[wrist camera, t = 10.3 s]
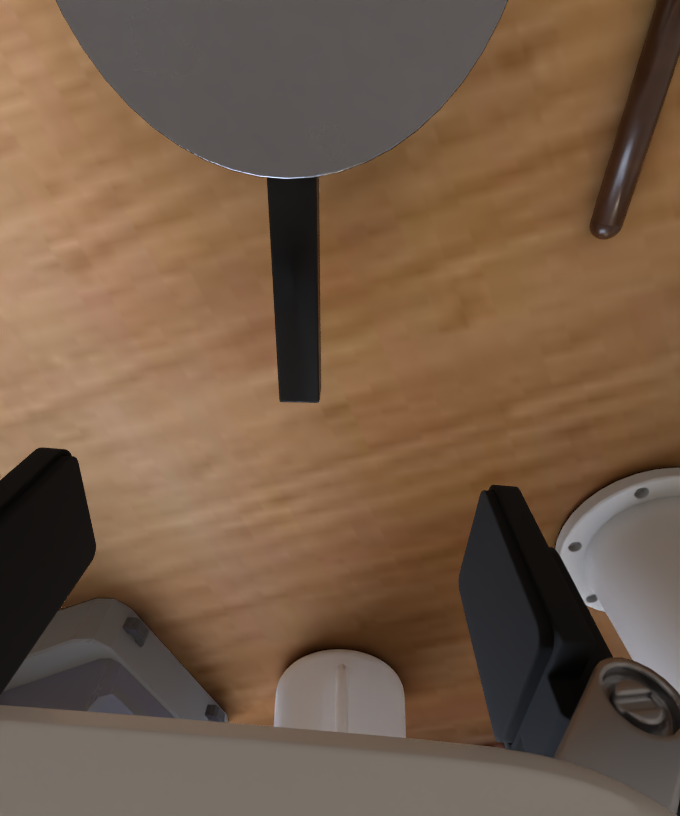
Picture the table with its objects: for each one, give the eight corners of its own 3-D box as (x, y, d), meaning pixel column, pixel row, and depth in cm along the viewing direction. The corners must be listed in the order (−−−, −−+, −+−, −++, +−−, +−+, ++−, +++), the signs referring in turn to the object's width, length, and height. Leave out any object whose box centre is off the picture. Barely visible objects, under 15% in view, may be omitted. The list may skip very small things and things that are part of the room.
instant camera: (-76, 627, 38) (-300, 873, 25) (158, 587, 36) (45, 839, 22) (56, 762, 48) (-56, 993, 35) (248, 739, 45) (206, 979, 32)
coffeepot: (417, 578, 35) (481, 959, 18) (391, 759, 46) (416, 1092, 30) (271, 574, 35) (202, 950, 18) (282, 755, 46) (245, 1086, 30)
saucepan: (498, -278, 16) (647, -714, 8) (431, 354, 27) (466, 436, 19) (95, -278, 16) (-154, -708, 8) (188, 350, 27) (120, 430, 19)
